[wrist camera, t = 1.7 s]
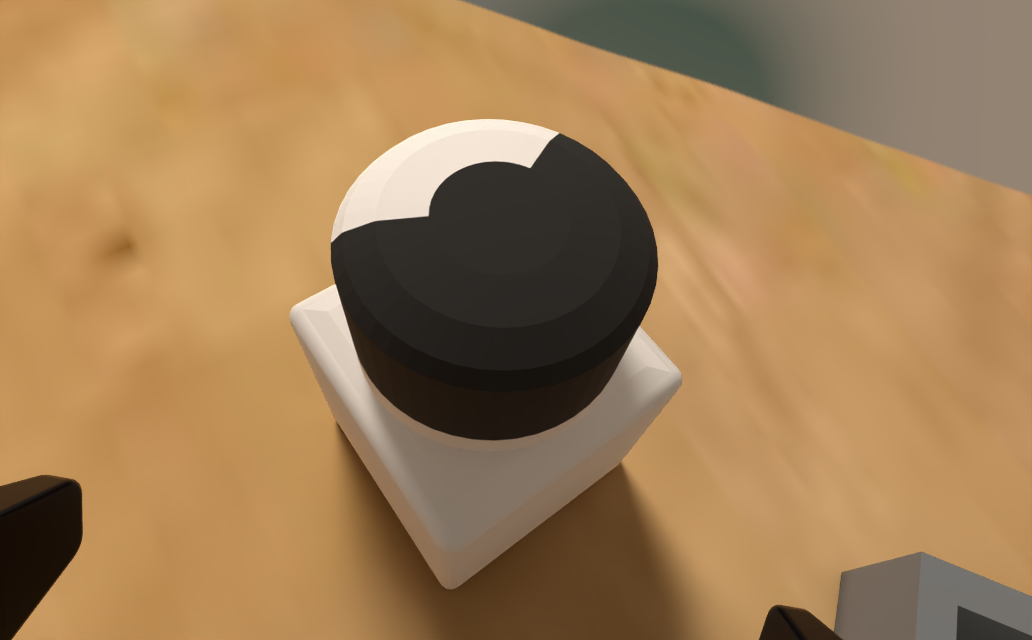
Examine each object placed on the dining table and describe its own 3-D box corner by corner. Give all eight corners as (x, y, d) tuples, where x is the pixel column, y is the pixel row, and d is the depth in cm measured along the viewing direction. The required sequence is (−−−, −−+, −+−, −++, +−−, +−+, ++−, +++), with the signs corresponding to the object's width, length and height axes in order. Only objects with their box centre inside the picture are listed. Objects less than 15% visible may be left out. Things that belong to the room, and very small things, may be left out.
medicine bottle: (623, 461, 22) (784, 264, 11) (447, 596, 19) (442, 504, 9) (500, 309, 24) (537, 31, 14) (329, 411, 22) (215, 166, 11)
